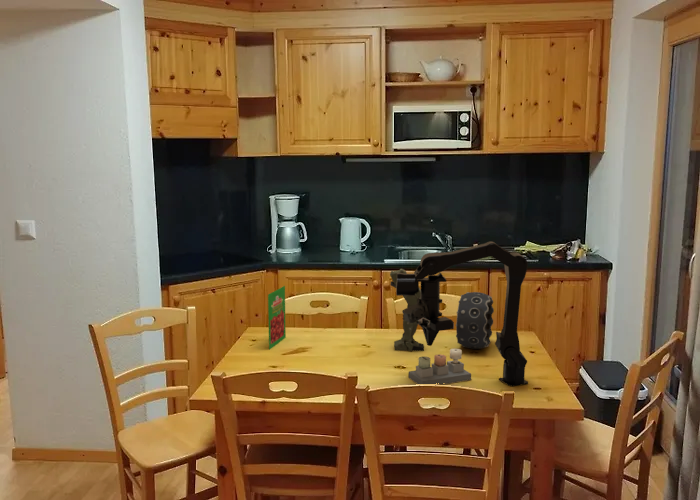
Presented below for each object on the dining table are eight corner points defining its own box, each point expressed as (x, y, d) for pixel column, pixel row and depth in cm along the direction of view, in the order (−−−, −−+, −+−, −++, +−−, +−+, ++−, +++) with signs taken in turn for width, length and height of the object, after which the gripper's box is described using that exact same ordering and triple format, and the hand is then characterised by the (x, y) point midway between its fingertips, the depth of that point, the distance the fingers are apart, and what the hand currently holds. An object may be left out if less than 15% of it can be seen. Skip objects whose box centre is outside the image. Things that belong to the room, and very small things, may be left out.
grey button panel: (471, 379, 201) (471, 365, 200) (422, 387, 194) (422, 373, 193) (455, 370, 209) (456, 357, 208) (408, 377, 202) (408, 363, 202)
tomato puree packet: (270, 349, 230) (269, 294, 226) (267, 349, 230) (266, 294, 227) (286, 337, 244) (286, 285, 241) (284, 337, 244) (283, 285, 241)
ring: (453, 354, 225) (455, 297, 222) (464, 338, 244) (465, 286, 241) (485, 357, 222) (487, 300, 218) (493, 341, 240) (495, 288, 237)
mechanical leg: (434, 343, 234) (415, 263, 230) (434, 350, 227) (415, 267, 223) (396, 351, 236) (377, 272, 232) (396, 357, 229) (376, 276, 225)
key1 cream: (463, 366, 202) (463, 350, 201) (453, 367, 201) (453, 352, 200) (457, 362, 205) (457, 347, 204) (447, 364, 204) (447, 349, 203)
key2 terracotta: (447, 372, 200) (448, 356, 199) (437, 374, 199) (438, 358, 198) (441, 368, 203) (442, 353, 203) (431, 370, 202) (432, 354, 201)
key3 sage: (432, 374, 198) (432, 359, 197) (421, 376, 197) (422, 360, 196) (426, 371, 201) (426, 355, 201) (416, 372, 200) (416, 357, 199)
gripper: (392, 291, 201) (392, 340, 204) (421, 305, 184) (420, 358, 187) (423, 288, 205) (423, 336, 208) (455, 301, 188) (454, 353, 191)
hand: (429, 345), depth 198 cm, fingers closed
